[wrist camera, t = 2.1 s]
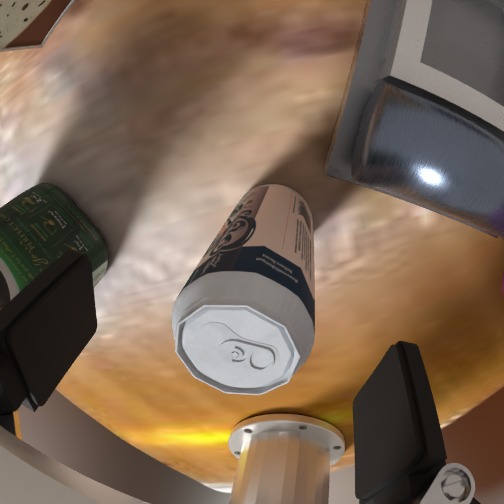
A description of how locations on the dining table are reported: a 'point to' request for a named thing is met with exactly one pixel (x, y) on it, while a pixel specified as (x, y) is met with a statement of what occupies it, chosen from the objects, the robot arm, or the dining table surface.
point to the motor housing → (427, 108)
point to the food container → (29, 22)
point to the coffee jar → (43, 238)
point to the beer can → (251, 297)
